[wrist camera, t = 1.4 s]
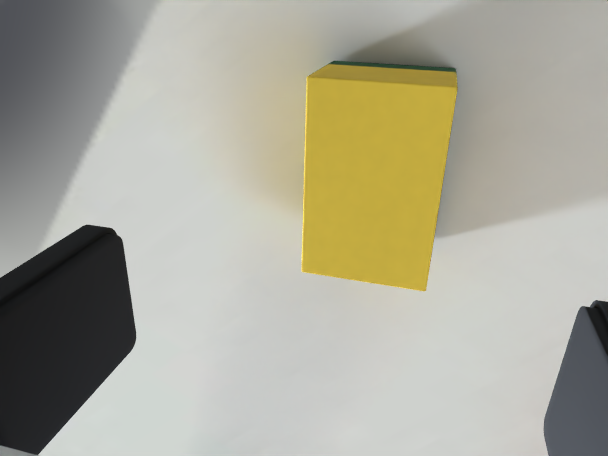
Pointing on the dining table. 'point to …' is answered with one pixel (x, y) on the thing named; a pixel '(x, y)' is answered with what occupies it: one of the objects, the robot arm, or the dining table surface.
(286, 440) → the dining table surface
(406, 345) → the dining table surface
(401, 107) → the sponge
